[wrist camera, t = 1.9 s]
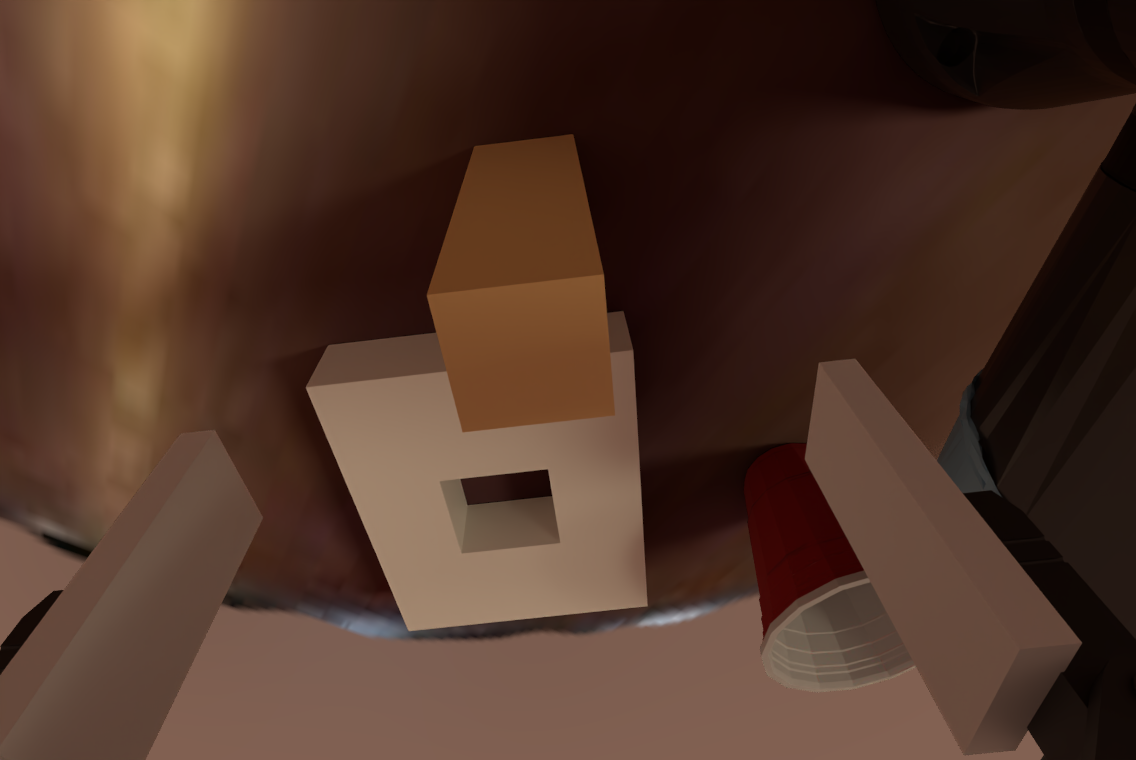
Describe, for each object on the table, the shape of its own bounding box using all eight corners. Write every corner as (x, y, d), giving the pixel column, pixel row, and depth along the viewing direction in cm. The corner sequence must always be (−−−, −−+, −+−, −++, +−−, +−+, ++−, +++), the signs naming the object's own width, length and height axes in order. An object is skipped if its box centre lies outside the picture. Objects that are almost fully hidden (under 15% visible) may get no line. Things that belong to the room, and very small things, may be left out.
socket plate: (623, 311, 33) (633, 350, 30) (639, 557, 44) (647, 606, 41) (328, 345, 33) (305, 387, 30) (417, 581, 45) (408, 631, 41)
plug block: (573, 134, 28) (603, 274, 16) (582, 229, 30) (615, 415, 18) (474, 146, 28) (426, 294, 16) (491, 240, 31) (462, 432, 18)
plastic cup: (783, 554, 45) (853, 723, 35) (672, 493, 41) (716, 664, 31) (908, 460, 40) (1030, 624, 30) (796, 381, 36) (895, 541, 26)
